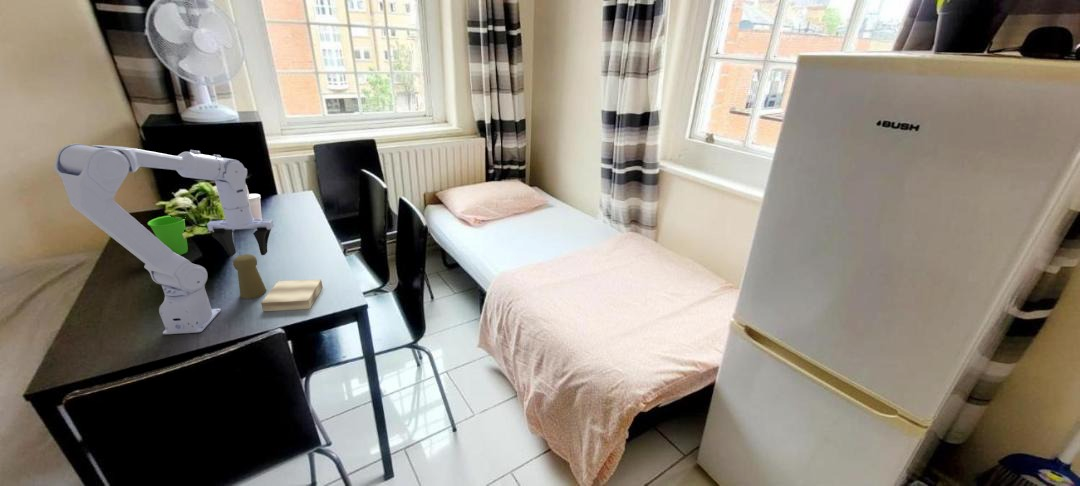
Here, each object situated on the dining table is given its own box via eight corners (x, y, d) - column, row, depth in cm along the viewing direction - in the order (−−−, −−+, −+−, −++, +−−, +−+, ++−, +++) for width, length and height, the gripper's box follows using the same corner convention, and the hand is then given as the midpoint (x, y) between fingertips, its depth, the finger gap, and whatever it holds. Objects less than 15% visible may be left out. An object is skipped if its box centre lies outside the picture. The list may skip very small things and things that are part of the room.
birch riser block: (310, 308, 110) (308, 300, 109) (263, 311, 108) (260, 302, 107) (322, 287, 119) (321, 279, 118) (279, 289, 118) (277, 281, 117)
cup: (158, 251, 135) (146, 218, 131) (194, 244, 141) (184, 213, 136) (159, 261, 129) (147, 228, 125) (196, 254, 135) (186, 221, 130)
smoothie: (241, 222, 159) (232, 186, 153) (257, 216, 165) (248, 181, 159) (255, 224, 158) (246, 188, 152) (270, 219, 163) (261, 183, 157)
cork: (254, 300, 112) (244, 263, 108) (234, 297, 113) (223, 260, 109) (271, 289, 118) (262, 253, 113) (252, 286, 119) (243, 250, 114)
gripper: (273, 200, 113) (283, 246, 118) (212, 200, 110) (225, 248, 116) (262, 209, 106) (273, 258, 112) (197, 210, 104) (212, 260, 110)
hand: (248, 254), depth 114 cm, fingers open, 7 cm apart
